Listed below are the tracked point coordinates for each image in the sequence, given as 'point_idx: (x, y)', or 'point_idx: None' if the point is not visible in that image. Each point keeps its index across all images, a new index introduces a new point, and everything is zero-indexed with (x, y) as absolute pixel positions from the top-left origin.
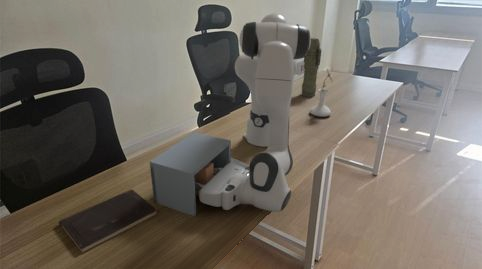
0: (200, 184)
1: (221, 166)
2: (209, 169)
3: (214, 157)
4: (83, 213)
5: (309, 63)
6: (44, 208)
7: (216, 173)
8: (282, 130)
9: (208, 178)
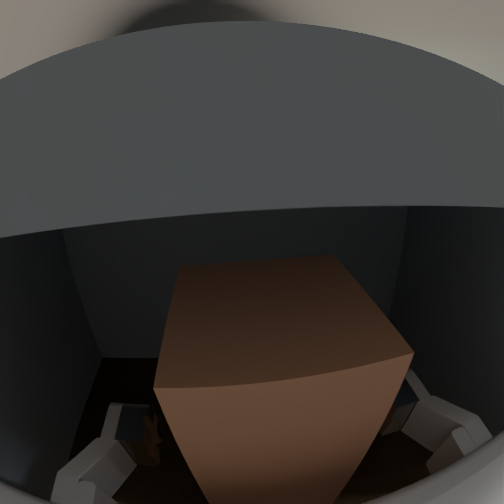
0: (91, 460)
1: (490, 382)
2: (276, 419)
3: (447, 195)
4: None
5: None
6: None
7: (418, 439)
8: None
9: (244, 479)
